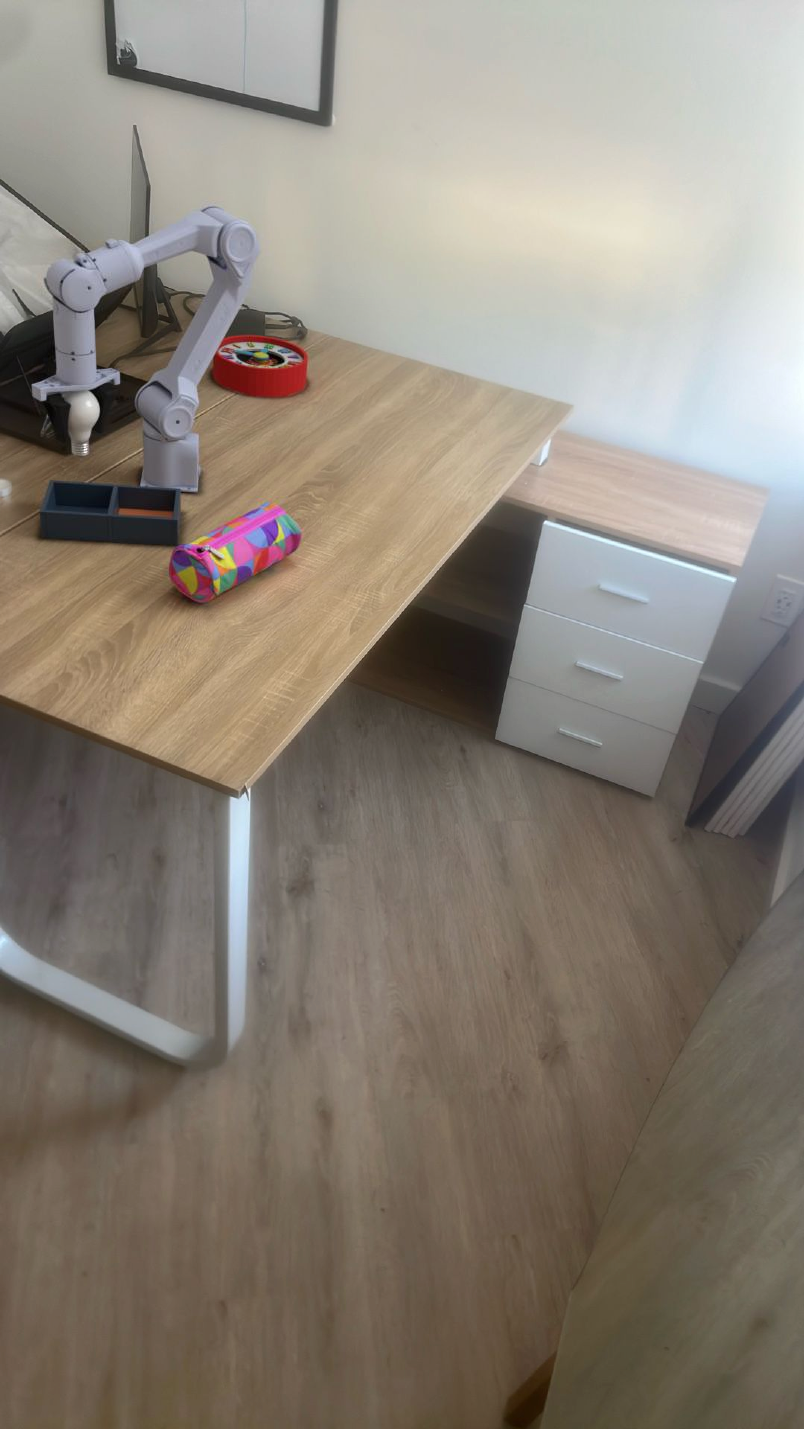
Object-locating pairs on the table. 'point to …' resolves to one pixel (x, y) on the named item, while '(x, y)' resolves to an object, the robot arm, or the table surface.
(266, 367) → the toy clock
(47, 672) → the table surface
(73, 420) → the lightbulb
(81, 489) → the organiser
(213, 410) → the table surface
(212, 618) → the table surface
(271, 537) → the pencil case
